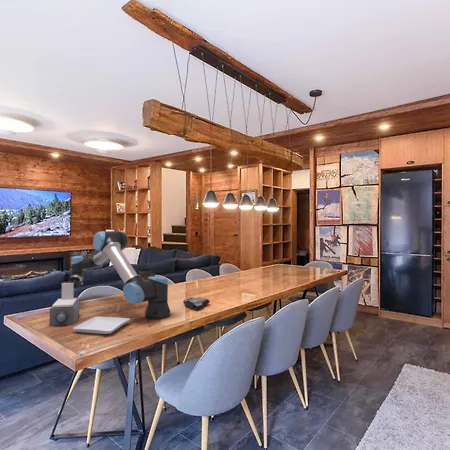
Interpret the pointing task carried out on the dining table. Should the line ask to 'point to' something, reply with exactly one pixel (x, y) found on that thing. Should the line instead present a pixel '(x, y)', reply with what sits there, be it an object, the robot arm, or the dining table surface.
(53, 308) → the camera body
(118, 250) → the robot arm
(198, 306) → the dark grey flat lump
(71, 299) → the side cover
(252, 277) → the dining table surface
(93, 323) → the salad plate
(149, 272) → the beer stein
